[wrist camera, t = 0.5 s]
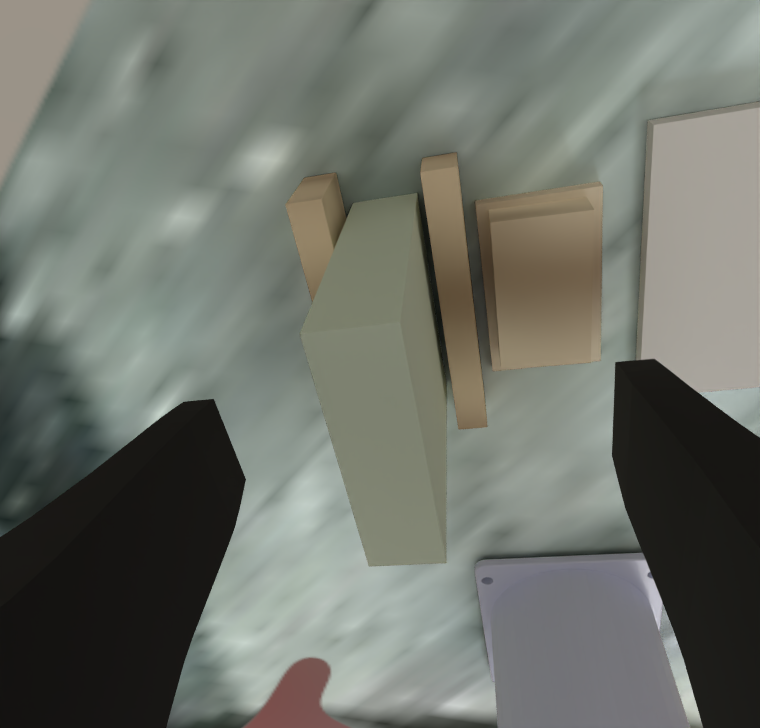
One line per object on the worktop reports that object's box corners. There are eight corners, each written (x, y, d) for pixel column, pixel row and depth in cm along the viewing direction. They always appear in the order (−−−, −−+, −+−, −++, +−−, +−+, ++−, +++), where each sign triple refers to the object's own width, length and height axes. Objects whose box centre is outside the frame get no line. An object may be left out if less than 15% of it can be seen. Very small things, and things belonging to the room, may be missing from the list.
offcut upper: (584, 344, 20) (590, 362, 19) (499, 351, 20) (501, 369, 19) (587, 197, 17) (594, 209, 16) (488, 209, 18) (490, 222, 17)
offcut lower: (594, 343, 21) (600, 360, 20) (491, 354, 22) (492, 371, 21) (595, 174, 18) (602, 185, 17) (474, 193, 19) (475, 204, 18)
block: (446, 381, 22) (446, 562, 15) (392, 386, 22) (369, 566, 15) (417, 192, 18) (399, 321, 11) (353, 203, 18) (299, 333, 12)
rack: (485, 401, 22) (489, 446, 20) (363, 412, 23) (354, 456, 21) (456, 152, 17) (457, 177, 15) (304, 177, 18) (285, 204, 16)
